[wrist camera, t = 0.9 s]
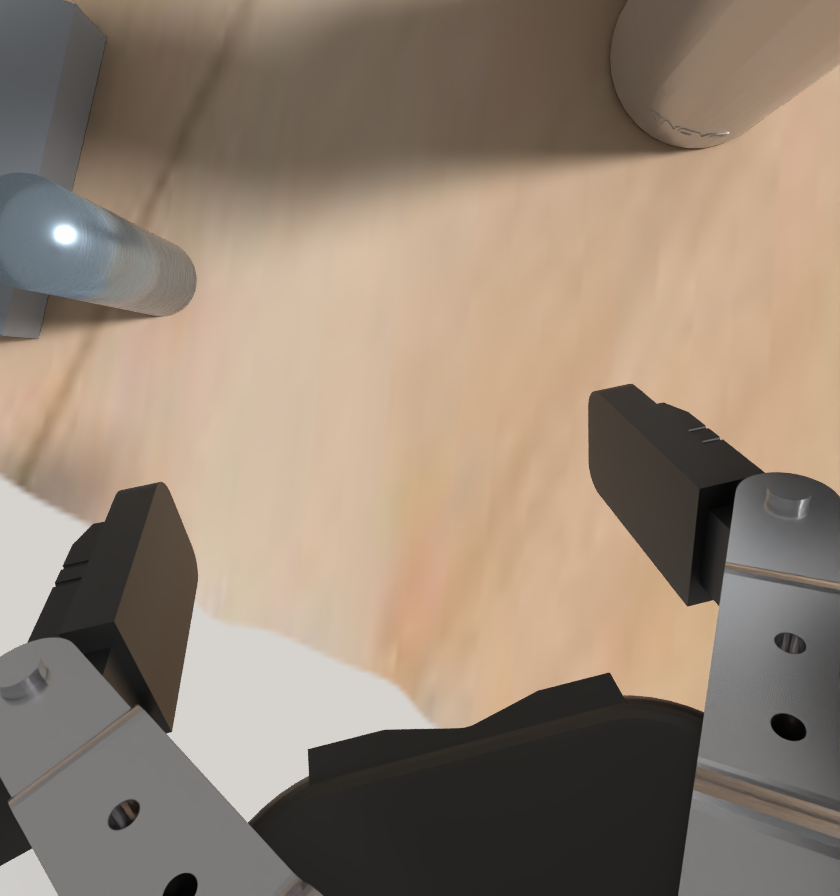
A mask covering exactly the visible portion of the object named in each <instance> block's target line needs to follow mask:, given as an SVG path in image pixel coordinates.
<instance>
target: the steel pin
mask: <svg viewBox="0 0 840 896" xmlns="http://www.w3.org/2000/svg"><path fill="white" fill-rule="evenodd" d="M0 282H2V283H4V284H6V285H9V286H12V287H15V288H20V289H25V290H29V291H34V292H39V293H44V294H49V295H54V296H59V297H64V298H69V299H74V300H79V301H84V302H89V303H94V304H99V305H104V306H109V307H114V308H119V309H124V310H129V311H134V312H139V313H144V314H148V315H153V316H169V315H172V314H175V313H177V312H179V311H180V310H182V309H183V308H184V307H186V305H187V304H188V303H189V302H190V300H191V299H192V297H193V295H194V292H195V289H196V272H195V268H194V265H193V263H192V261H191V259H190V258H189V256H188V255H187V254H186V253H185V252H184V251H183V250H182V249H181V248H179V247H178V246H176V245H174V244H173V243H171V242H169V241H167V240H165V239H163V238H161V237H159V236H157V235H155V234H153V233H151V232H149V231H147V230H145V229H143V228H141V227H139V226H138V225H136V224H134V223H132V222H130V221H128V220H126V219H124V218H122V217H120V216H118V215H116V214H114V213H112V212H110V211H108V210H106V209H104V208H102V207H100V206H99V205H97V204H95V203H93V202H91V201H89V200H87V199H85V198H83V197H81V196H79V195H77V194H75V193H73V192H71V191H69V190H67V189H65V188H63V187H62V186H60V185H58V184H56V183H54V182H52V181H50V180H48V179H46V178H44V177H41V176H39V175H35V174H31V173H23V172H18V173H10V174H5V175H2V176H0Z"/></svg>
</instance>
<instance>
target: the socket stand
mask: <svg viewBox="0 0 840 896" xmlns="http://www.w3.org/2000/svg"><path fill="white" fill-rule="evenodd" d="M106 39H107V37H106V36H105V35H104V34H103V33H102V32H101V31H100V30H99V29H98V28H97V26H96V25H95V24H94V23H93V22H92V21H91V20H90V19H89V18H88V17H87V16H86V15H85V14H84V13H83V11H82V10H81V9H80V8H79V7H78V6H77V5H75V4H72V3H69V2H66V1H63V0H0V176H2V175H5V174H10V173H18V172H23V173H31V174H35V175H39V176H41V177H44V178H46V179H48V180H50V181H52V182H54V183H56V184H58V185H60V186H62V187H63V188H65V189H67V190H69V191H71V192H72V189H73V184H74V180H75V175H76V171H77V166H78V162H79V158H80V153H81V149H82V144H83V140H84V136H85V131H86V127H87V122H88V118H89V114H90V109H91V105H92V100H93V96H94V92H95V87H96V83H97V78H98V74H99V70H100V65H101V61H102V56H103V52H104V48H105V43H106ZM47 299H48V294H44V293H39V292H34V291H29V290H25V289H20V288H15V287H12V286H9V285H6V284H4V283H2V282H0V335H2V336H11V337H24V338H36V339H38V338H39V334H40V330H41V325H42V321H43V316H44V312H45V307H46V303H47Z"/></svg>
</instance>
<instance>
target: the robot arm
mask: <svg viewBox="0 0 840 896" xmlns="http://www.w3.org/2000/svg"><path fill="white" fill-rule="evenodd" d="M610 62H611V75H612V79H613V83H614V86H615V90H616V93H617V96H618V98H619V100H620V101H621V103H622V105H623V107H624V109H625V111H626V112H627V113H628V115H629V116H630V117H631V118H632V119H633V121H634V122H635V123H636V124H637V125H638V126H639V127H640V128H641V129H643V130H644V131H645V132H647V133H648V134H649V135H651V136H652V137H654V138H656V139H658V140H660V141H662V142H665V143H667V144H669V145H674V146H679V147H684V148H707V147H711V146H715V145H719V144H723V143H725V142H727V141H729V140H732V139H734V138H736V137H738V136H740V135H741V134H743V133H744V132H746V131H747V130H748V129H750V128H751V127H753V126H754V125H755V124H757V123H758V122H760V121H761V120H762V119H764V118H765V117H766V116H768V115H769V114H771V113H772V112H774V111H775V110H776V109H778V108H779V107H781V106H782V105H784V104H785V103H787V102H788V101H790V100H791V99H792V98H794V97H795V96H797V95H798V94H799V93H801V92H802V91H804V90H805V89H806V88H808V87H809V86H811V85H812V84H813V83H815V82H816V81H817V80H819V79H820V78H822V77H823V76H824V75H826V74H827V73H829V72H830V71H831V70H833V69H834V68H836V67H837V66H838V65H840V0H628V1H627V3H626V5H625V7H624V8H623V10H622V12H621V14H620V15H619V18H618V21H617V24H616V27H615V30H614V33H613V36H612V44H611V52H610ZM588 429H589V469H590V474H591V478H592V481H593V484H594V486H595V488H596V490H597V492H598V493H599V495H600V496H601V497H602V498H603V500H604V501H605V502H606V504H607V505H608V506H609V507H610V509H611V510H612V511H613V512H614V514H615V515H616V516H617V518H618V519H619V520H620V521H621V523H622V524H623V525H624V526H625V528H626V529H627V530H628V532H629V533H630V534H631V535H632V537H633V538H634V539H635V540H636V542H637V543H638V544H639V546H640V547H641V548H642V549H643V551H644V552H645V553H646V554H647V556H648V557H649V558H650V560H651V561H652V562H653V563H654V565H655V566H656V567H657V568H658V570H659V571H660V572H661V573H662V575H663V576H664V577H665V579H666V580H667V581H668V582H669V584H670V585H671V586H672V587H673V589H674V590H675V591H676V593H677V594H678V595H679V596H680V598H681V599H682V600H683V601H684V603H685V604H686V605H687V606H691V605H695V604H699V603H703V602H707V601H711V600H714V601H715V602H716V603H717V604H718V606H719V612H718V619H717V626H716V633H715V640H714V647H713V654H712V662H711V669H710V676H709V683H708V690H707V697H706V704H705V711H704V712H702V711H699V710H697V709H694V708H692V707H689V706H686V705H682V704H679V703H675V702H672V701H668V700H663V699H657V698H652V697H643V696H623V695H622V693H621V692H620V690H619V688H618V686H617V685H616V683H615V681H614V679H613V677H612V676H611V674H610V673H606V674H602V675H598V676H594V677H590V678H586V679H582V680H578V681H574V682H571V683H567V684H563V685H559V686H555V687H551V688H547V689H543V690H539V691H537V692H535V693H533V694H531V695H529V696H527V697H525V698H523V699H522V700H520V701H518V702H516V703H514V704H512V705H510V706H508V707H507V708H505V709H503V710H501V711H499V712H497V713H495V714H493V715H491V716H490V717H488V718H486V719H484V720H482V721H480V722H478V723H476V724H474V725H472V726H469V727H466V728H451V729H401V730H382V731H378V732H374V733H370V734H366V735H362V736H358V737H355V738H351V739H347V740H343V741H339V742H335V743H331V744H328V745H323V746H319V747H316V748H312V749H308V761H309V776H308V777H306V778H304V779H302V780H301V781H299V782H297V783H295V784H294V785H292V786H291V787H289V788H288V789H287V790H285V791H283V792H282V793H280V794H279V795H278V796H277V797H275V798H274V799H273V800H272V801H271V802H270V803H268V804H267V805H266V806H265V807H264V808H262V809H261V810H260V811H259V813H257V815H255V817H253V818H252V819H251V820H250V821H249V822H248V823H247V822H246V821H245V819H244V818H243V817H242V816H241V815H240V814H239V813H238V812H237V811H236V810H235V808H234V807H233V806H232V805H231V804H230V803H229V802H228V801H227V800H226V799H225V798H224V796H222V794H221V793H220V792H219V791H218V790H217V789H216V788H215V787H214V786H213V785H212V783H211V782H210V781H209V780H208V779H207V778H206V777H205V776H204V775H203V774H202V773H201V772H200V770H199V769H198V768H197V767H196V766H195V765H194V764H193V763H192V762H191V761H190V759H189V758H188V757H187V756H186V755H185V754H184V753H183V752H182V751H181V749H180V748H179V747H178V746H177V745H176V744H175V743H174V742H173V741H172V740H171V739H170V737H169V736H168V735H167V734H166V733H169V732H172V728H173V722H174V717H175V711H176V705H177V699H178V693H179V688H180V682H181V675H182V670H183V664H184V658H185V653H186V647H187V641H188V635H189V629H190V624H191V618H192V612H193V606H194V600H195V594H196V589H197V582H198V570H197V563H196V558H195V554H194V551H193V548H192V545H191V543H190V540H189V538H188V535H187V533H186V530H185V528H184V525H183V523H182V520H181V518H180V516H179V513H178V511H177V508H176V506H175V503H174V501H173V498H172V496H171V493H170V491H169V489H168V488H167V486H166V485H165V484H164V483H163V482H158V483H153V484H149V485H144V486H139V487H134V488H130V489H125V490H120V491H118V492H117V494H116V496H115V498H114V501H113V503H112V505H111V508H110V510H109V513H108V515H107V518H106V520H105V522H101V523H96V524H93V525H92V526H91V527H90V528H89V529H88V530H87V531H86V532H85V533H84V534H83V535H82V536H81V537H80V538H79V539H78V540H77V541H76V542H75V543H74V544H73V545H72V547H71V549H70V551H69V554H68V556H67V558H66V560H65V562H64V565H63V567H64V569H63V570H61V571H60V573H59V575H58V577H57V580H56V582H55V585H56V587H53V588H52V590H51V593H50V595H49V597H48V599H47V601H46V604H45V606H44V608H43V610H42V612H41V614H40V617H39V619H38V621H37V623H36V625H35V627H34V630H33V632H32V634H31V636H30V638H29V641H28V643H26V644H23V645H21V646H19V647H17V648H14V649H13V650H11V651H9V652H7V653H6V654H4V655H2V656H1V657H0V866H1V865H3V864H4V863H6V862H8V861H10V860H12V859H14V858H15V857H17V856H19V855H21V854H23V853H25V852H26V851H28V850H30V849H32V848H33V850H34V852H35V854H36V856H37V857H38V859H39V861H40V863H41V865H42V866H43V868H44V870H45V872H46V874H47V875H48V877H49V879H50V881H51V883H52V885H53V886H54V888H55V890H56V892H57V894H58V895H59V896H840V496H839V495H838V494H837V493H836V492H835V491H834V490H832V489H831V488H830V487H828V486H826V485H825V484H823V483H821V482H819V481H817V480H814V479H811V478H808V477H805V476H801V475H797V474H791V473H780V472H771V473H765V472H763V471H762V470H761V469H760V468H758V467H757V466H756V465H754V464H753V463H752V462H751V461H749V460H748V459H747V458H746V457H744V456H743V455H742V454H741V453H739V452H738V451H737V450H736V449H734V448H733V447H732V446H730V445H729V444H728V443H727V442H725V441H724V440H720V438H719V436H718V435H717V434H715V433H714V432H713V431H712V430H710V429H709V428H708V429H706V427H705V425H704V424H703V423H701V422H700V421H699V420H698V419H696V418H695V417H694V416H693V415H691V414H690V413H689V412H687V411H684V410H681V409H679V408H676V407H674V406H671V405H668V404H666V403H659V404H656V403H655V402H654V401H653V400H652V399H650V398H649V397H648V396H647V395H646V394H644V393H643V392H642V391H641V390H640V389H638V388H637V387H636V386H635V385H633V384H627V385H622V386H617V387H613V388H608V389H603V390H598V391H594V392H592V393H591V395H590V398H589V405H588Z"/></svg>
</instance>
